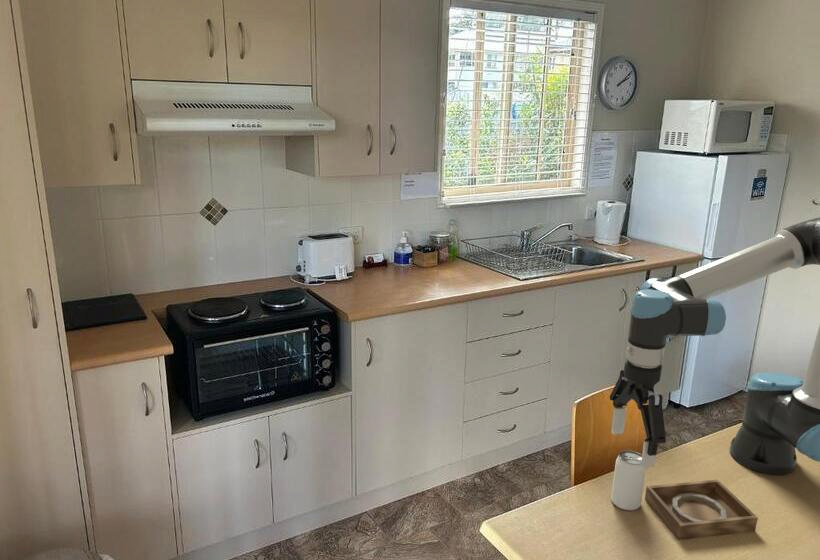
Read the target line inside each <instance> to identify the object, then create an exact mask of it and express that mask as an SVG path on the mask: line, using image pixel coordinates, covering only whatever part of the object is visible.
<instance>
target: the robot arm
mask: <svg viewBox="0 0 820 560" xmlns="http://www.w3.org/2000/svg"><path fill="white" fill-rule="evenodd" d="M809 265H818V266H820V217H816V218H812V219H808V220H805V221H801V222H799V223H795V224H792V225H790V226H788V227H784V228H783V229H779V230H778V231H776V233H774V235H773V237H772V238H769V239H766V240H764V241H762V242H759V243H756V244H754V245H752V246H749V247H747V248H744V249H741V250H740V251H737V252H734V253H731V254H729V255H727V256H724V257H722V258H719V259H716V260H714V261H711V262H709V263H706V264H705V265H701V266H699V267H697V268H694V269H691V270H688V271H687V272H684V273H682V274H678V275H676V276H674V277H672V278H669V279H665V278H660V277H652V278H649V279H647V280H646V281H644V282H643V283H642V284H641V287H640V288H639V289H640V290H638V291H637V292H636V293H635V294H634V297H633V301H632V305H631V308H630V309H631V310H630V321H629V328H628V329H629V330H628V338H627V339H628V341H627V345H626V346H627V347H626V348H625V351H626V354H625V357H626V359H625V361H624V367H623V368H624V369H620V371H619V375H618V379H617V381H616V383H615V384H614V387H613V389H612V391H611V393H610V395H609V400H610V401H612V406H613V413H612V414H613V415H612V422H611V430H610V433H611V434H612V435H623V434H624V432H625V425H626V416H627V410H628V409H627V407H628V403H630V401H632V400H633V401H634V402H635V404H636V406H637V409H638V410H639V411H640V413H641V418H642V423H643V427H644V432H645V434H646V435H645V437H646V438H643V446H642V454H641V455H642V458H641V467H646V468H652V467H655V461H656V456H657V452H658V447H659V444H666V442H667V440H666V438H667V437H666V428H665V421H664V412H663V399H664V397H663V395H662V394H656V393H655V390H654V389H655V388H654V387H655V386H656V385H657V384H658V383H659V382H660V381H661V377H662V372H663V371H662V369H663V363H664V356H665V351H666V350H665V348H666V343H667V337H682V336H683V337H684V336H685V337H686V336H687V337H688V336H690V337H691V336H693V337H695V336H696V337H697V336H699V337H700V336H701V337H706V336H712V335H713V336H714V335H718V334H720V333H722V331H723V330H724V328H725V326H726V320H727V314H726V310H725V308H724V306H723V305H722V303H721V302H720V301H719V300H715V299H712V298H714V297H716V296H719V295H721V294H724V293H726V292H728V291H732V290H734V289H736V288H740V287H742V286H744V285H747V284H750V283H753V282H755V281H757V280H760V279H763V278H765V277H767V276H770V275H772V274H774V273H778V272H779V271H782V270H785V269H788V268H790V269H794V270H795V269H796V270H797V269H799V268H801V267H804V266H809ZM810 354H811V355H810V357H809V360H808V361H809V362H808V364H807V368H806V372H805V376H804V379H803V380H802V379H800V378H798V377H796V376H794V375H789V374H786V373H780V372H779V373H778V372H767V371H766V372H758V373H756V374H753V375H752V376H751V378H750V380H749V383H748V386H747V393H746V398H745V399H746V400H745V405H744V411H743V416H742V422H741V426H740V427H739V429H738V431H737V433H736V434H735V437H733V438H732V440H731V442H730V445H729V454H730V456H731V457H732V458H733V459H734V460H735V461H736V462H737V463H739V464H740V465H741V466H744V467H746V468H748V469H750V470H753V471H755V472H759V473H763V474H766V475H775V476H776V475H778V476H781V475H788V474H790V473H793V472H794V471H795V469H796V466H797V461H798V459H797V454H796V449H797V451H798V452H799V453H800V454H802V455H804V456H806V457H808V459H811V460H812V461H815V462H818V463H820V324H819V326H818V330H817V333H816V336H815V339H814V344H813V347H812V350H811V353H810Z"/></svg>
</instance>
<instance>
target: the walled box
mask: <svg viewBox="0 0 820 560" xmlns="http://www.w3.org/2000/svg"><path fill="white" fill-rule="evenodd" d="M644 494H645V495H644V501H645V502H646V503H647V504H648V505H649V506H650V507H651V509H652V510H653V511H654V512H655V514H656V515H657V516H658V517H659V519H660V520H661V521H662V522H663V523H664V524H665V526H666V527H668V529H669V530H670V532H671V533H672V534H673V535H674V536H675V537H676V539H677V540H681V541H682V540H690V539H698V538H708V537H716V536H724V535H725V536H727V535H734V534H735V535H736V534H744V533H753V532H756V530H757V523H758V519H759V517H758V516H757V515H756V514H754V512H753V511H752V510H750V509H749V508H748V507H747V506H746V505H745V504H744V503H743V501H741V500H740V499H739V498H738V497H737V496H736V495H734V493H732V492H731V491H730V490H729V489H728V488H727V486H725V485H723V483H722V482H721V481H720V480H718V479H712V480H711V479H710V480H699V481H698V480H697V481H689V482H677V483H668V484H658V485H657V484H656V485H647V486H646V488H645V493H644Z"/></svg>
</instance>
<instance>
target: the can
mask: <svg viewBox="0 0 820 560" xmlns="http://www.w3.org/2000/svg"><path fill="white" fill-rule="evenodd" d="M641 458H642V454H641V453H640V452H637V451H634V450H628V449H625V450H622V451H620V452H619V453H618V456H617V458H616V459H615V465H614V473H613V480H612V481H613V482H612V488H611V497H610V498H611V501H612V503H613V505H614V506H615V507H617V508H619V509H620V510H623V511H630V512H632V511H636V510H638V509H639V508H640V507H641V505H642V501H643V500H642V498H643V491H644V484H645V476H646V468H647V467H641Z"/></svg>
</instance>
